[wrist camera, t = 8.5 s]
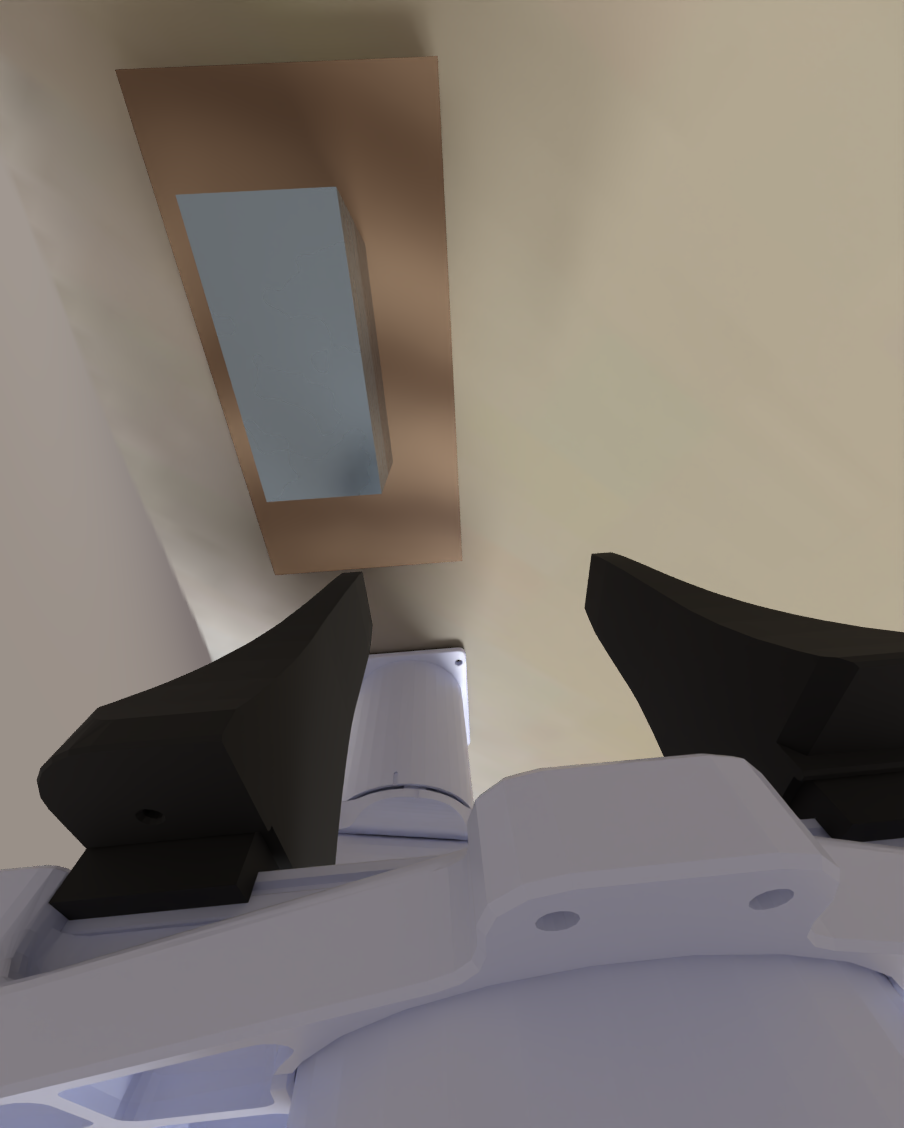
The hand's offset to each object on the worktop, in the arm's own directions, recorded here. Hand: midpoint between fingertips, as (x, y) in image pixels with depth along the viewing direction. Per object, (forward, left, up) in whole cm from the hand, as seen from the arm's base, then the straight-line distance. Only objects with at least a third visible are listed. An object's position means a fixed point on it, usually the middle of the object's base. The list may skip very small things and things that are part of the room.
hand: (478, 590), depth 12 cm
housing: (+6, +5, -8) cm, 11 cm away
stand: (+6, +5, -9) cm, 12 cm away
